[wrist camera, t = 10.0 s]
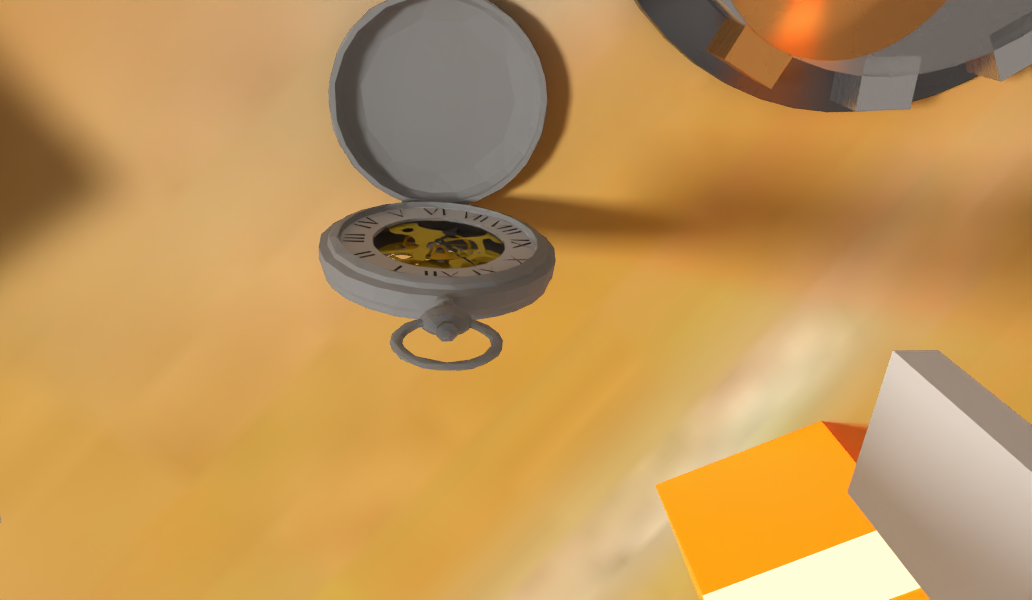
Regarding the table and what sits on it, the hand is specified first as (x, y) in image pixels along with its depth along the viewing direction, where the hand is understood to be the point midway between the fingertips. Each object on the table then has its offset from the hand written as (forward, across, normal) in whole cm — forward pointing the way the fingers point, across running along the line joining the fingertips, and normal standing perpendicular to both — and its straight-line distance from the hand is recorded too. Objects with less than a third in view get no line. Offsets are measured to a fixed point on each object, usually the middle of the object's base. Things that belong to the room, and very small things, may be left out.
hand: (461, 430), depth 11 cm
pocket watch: (+16, 0, 0) cm, 16 cm away
